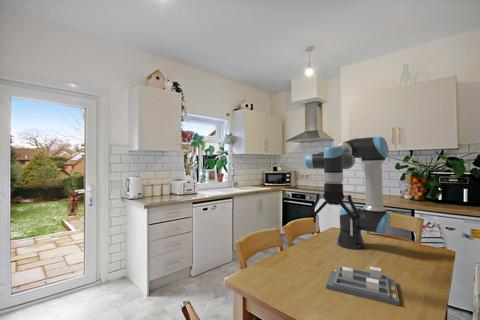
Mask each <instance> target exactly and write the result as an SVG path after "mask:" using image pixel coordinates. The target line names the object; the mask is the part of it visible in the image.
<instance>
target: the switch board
mask: <svg viewBox="0 0 480 320" xmlns="http://www.w3.org/2000/svg"><path fill="white" fill-rule="evenodd" d="M343 267H344V266H341V265H339V266H338V268H337V267H332V269H331V272H330V274H329V277H328V279H327V282H326V284H325V285H326V286H325V288H326V289H327V290H332V291H335V292H340V293H344V294H348V295H352V296H357V297H361V298H365V299H367V300H368V299H369V300H373V301H377V302H381V303H385V304H390V305H394V306H400V300H399V293H398V288H397V283H396V279H394V278H390V277H388V275H387V274H382V273H381V279H379V278H374V277H370V271H366V270H362V269H361V270H360V269H355V268H352V269H353V279H348V278H344V277H342V268H343ZM366 278H371V279H376V280H379V292H376V291H371V290H367V289H366Z"/></svg>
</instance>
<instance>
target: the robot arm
mask: <svg viewBox="0 0 480 320" xmlns="http://www.w3.org/2000/svg"><path fill="white" fill-rule="evenodd" d="M389 154H390V153H389V146H388V142H387V141H386V138H384V137H383V136H372V137H370V136H369V137H361V138H360V137H358V138H352V139H349V140H346V141H343V142H340V143H338V144H337V145H336V146H328V147H325V148H324V149H323V151H320V152H317V153H310V154H309V153H307V155H306V156H305V158H304V163H305V167H306V168H307V169H310V170H311V169H313V170H321V169H323V170H324V171H323V172H324V173H323V174H324V175H323V180H324V181H323V182H324V184H323V187H324V188H323V190H324V191H323V193H320V192H318V193H317V194H316V197H315V199H314V202H313V203H312V205H311V207H310V210H309V212H308V214H310V215H312V216H313V223H314V224H315V231H316V232H319V231H320V222H319V221H320V220H319V219H320V215H318V214H319V213H320V212H321V211H322V209H324V208H325V207H326V206H327V204H328V205H330V206H333V205H335V206H338V205H339V206H340V207H341V208H340V209H339V215H338V216H339V233H338V237H337V239H336V245H338V246H340V247H342V248H343V249H344V248H346V249H350V250H361V249H362V250H363V249H364V248H365V241H364V238H363V236H362V235H363V234H362V231H365V232H371V233H376V234H386V233H387V232H388V231H389V228H390V225H391V218H392V217H391V214H390V213H389V212H387V208H386V207H384V199H383V198H384V196H383V195H384V193H383V192H384V191H383V190H384V189H383V163H384V162H385V161H386V158H387V157H388V156H389ZM356 159H361V162H362V163H363V164H364V184H365V190H364V191H365V205H364V206H363V207H362V209H361V207H360V206H356V205H355V203H354V201H353V197H352V195H351V194H347V195H345V194H344V184H343V183H344V172H343V171H344V170H348V169H351V168H353V167H354V166H355V163H356ZM322 198H323V199H324V202H323V203H322V204H321V205H320V206H319V207H318V208H317V209H316V207H317V205H318V203H319V202H320V200H321V199H322ZM345 199H346V201H348V203H349V205H350V206H347V205H346V204H345V203H344V202H343V201H344V200H345ZM315 209H316V210H315Z"/></svg>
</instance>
